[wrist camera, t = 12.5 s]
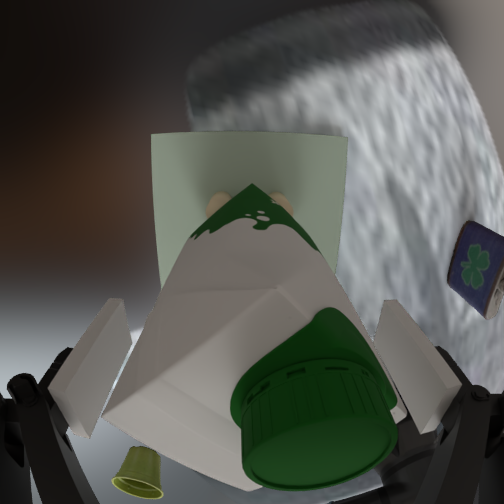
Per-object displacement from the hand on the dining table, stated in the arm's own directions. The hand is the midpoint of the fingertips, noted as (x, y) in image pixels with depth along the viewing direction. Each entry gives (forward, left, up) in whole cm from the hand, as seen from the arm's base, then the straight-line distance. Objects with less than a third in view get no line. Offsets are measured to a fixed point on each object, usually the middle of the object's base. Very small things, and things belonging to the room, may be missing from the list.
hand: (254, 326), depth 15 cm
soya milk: (0, 0, -12) cm, 12 cm away
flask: (-27, +3, -17) cm, 32 cm away
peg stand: (0, 0, -17) cm, 17 cm away
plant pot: (+19, +44, -17) cm, 51 cm away
